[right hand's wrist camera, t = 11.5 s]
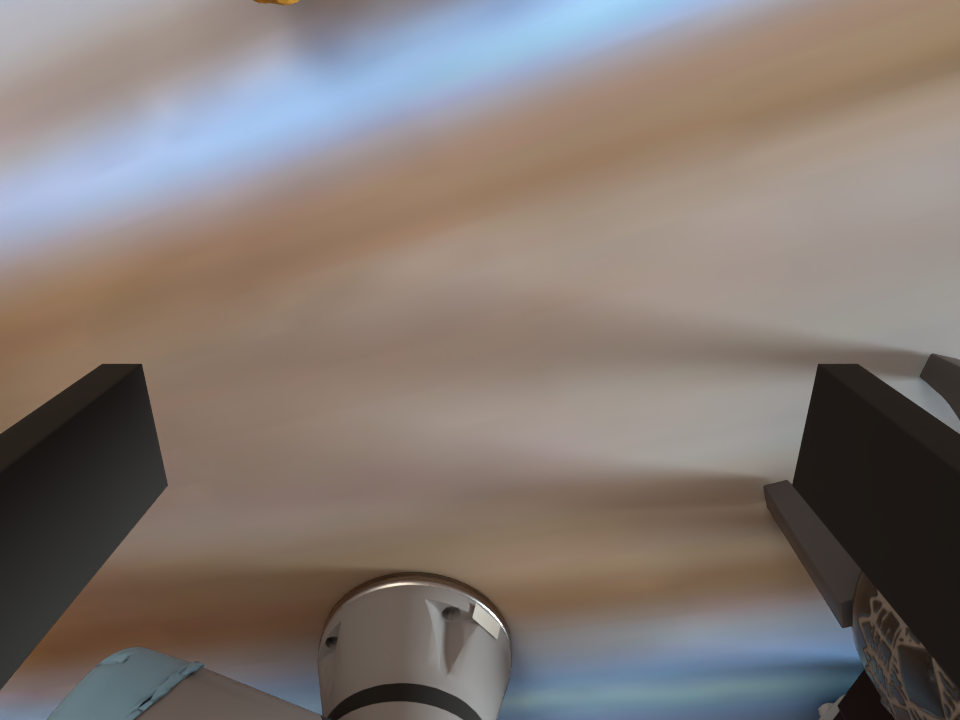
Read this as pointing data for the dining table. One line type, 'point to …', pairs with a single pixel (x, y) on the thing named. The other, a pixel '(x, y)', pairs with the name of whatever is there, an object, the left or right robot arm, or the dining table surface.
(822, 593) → the planter
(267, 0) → the toy
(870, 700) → the mechanical component
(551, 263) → the dining table surface
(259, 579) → the dining table surface
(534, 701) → the dining table surface
